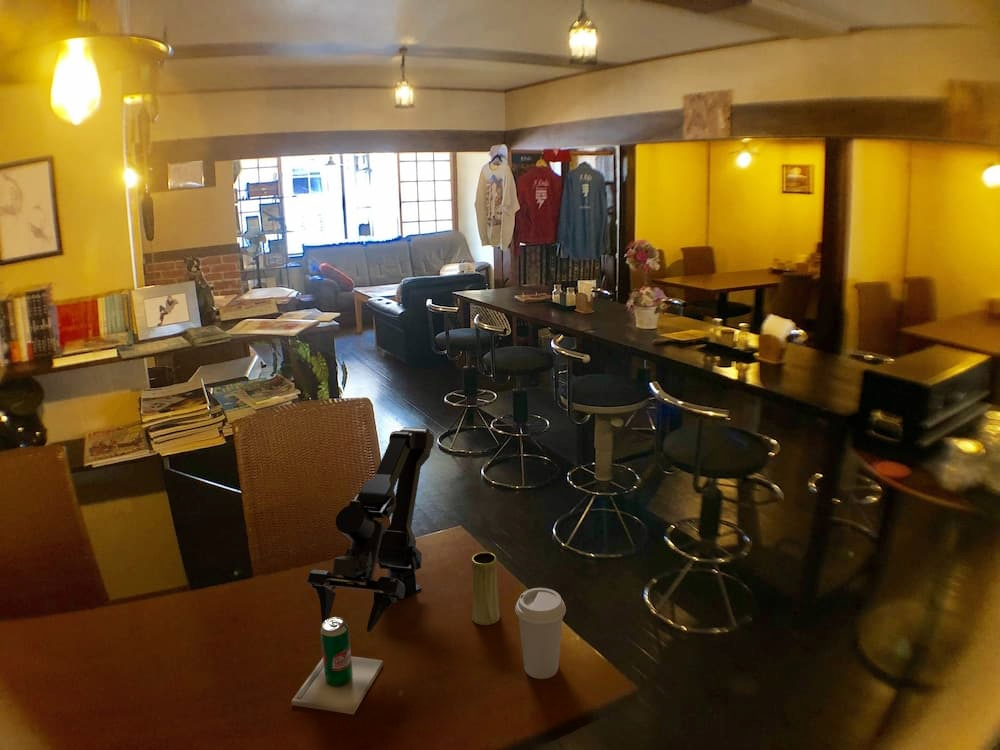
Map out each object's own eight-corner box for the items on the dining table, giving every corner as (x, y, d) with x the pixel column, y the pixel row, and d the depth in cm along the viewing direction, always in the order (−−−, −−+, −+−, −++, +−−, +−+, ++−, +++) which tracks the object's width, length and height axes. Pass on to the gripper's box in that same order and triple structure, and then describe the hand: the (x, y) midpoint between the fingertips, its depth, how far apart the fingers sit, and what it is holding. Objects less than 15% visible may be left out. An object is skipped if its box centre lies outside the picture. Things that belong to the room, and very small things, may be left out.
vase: (501, 609, 161) (499, 551, 157) (498, 626, 155) (496, 565, 151) (473, 608, 162) (471, 550, 158) (470, 625, 156) (467, 565, 152)
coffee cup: (536, 646, 148) (535, 580, 144) (575, 664, 142) (575, 596, 138) (506, 671, 141) (504, 602, 137) (546, 691, 135) (546, 620, 131)
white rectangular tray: (326, 657, 147) (326, 652, 146) (383, 664, 144) (382, 659, 144) (292, 705, 133) (291, 699, 133) (353, 714, 131) (352, 709, 130)
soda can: (336, 692, 135) (331, 635, 132) (320, 680, 138) (314, 625, 135) (358, 678, 139) (353, 622, 136) (341, 667, 142) (336, 612, 139)
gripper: (305, 533, 143) (283, 615, 136) (396, 541, 139) (377, 626, 132) (327, 549, 153) (307, 626, 145) (412, 557, 148) (396, 638, 141)
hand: (345, 629), depth 141 cm, fingers open, 9 cm apart
